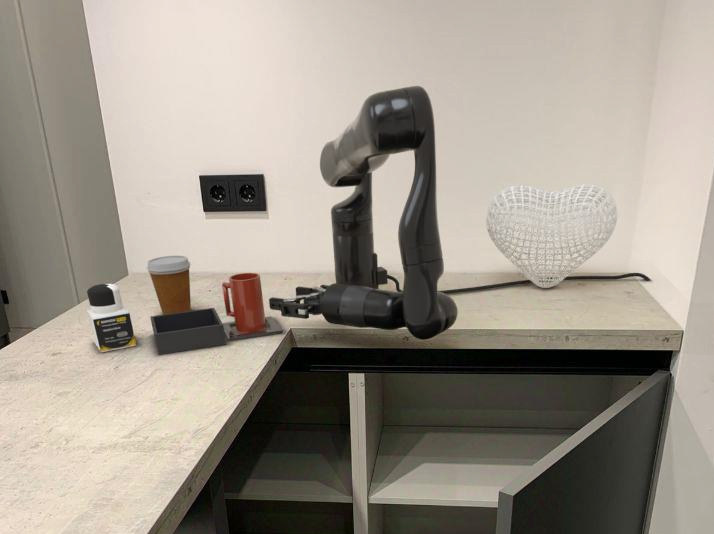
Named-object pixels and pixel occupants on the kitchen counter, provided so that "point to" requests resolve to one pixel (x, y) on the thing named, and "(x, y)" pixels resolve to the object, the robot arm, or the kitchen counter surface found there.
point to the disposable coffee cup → (171, 283)
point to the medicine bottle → (109, 318)
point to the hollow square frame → (232, 336)
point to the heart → (551, 196)
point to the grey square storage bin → (187, 331)
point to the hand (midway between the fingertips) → (283, 297)
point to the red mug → (245, 302)
